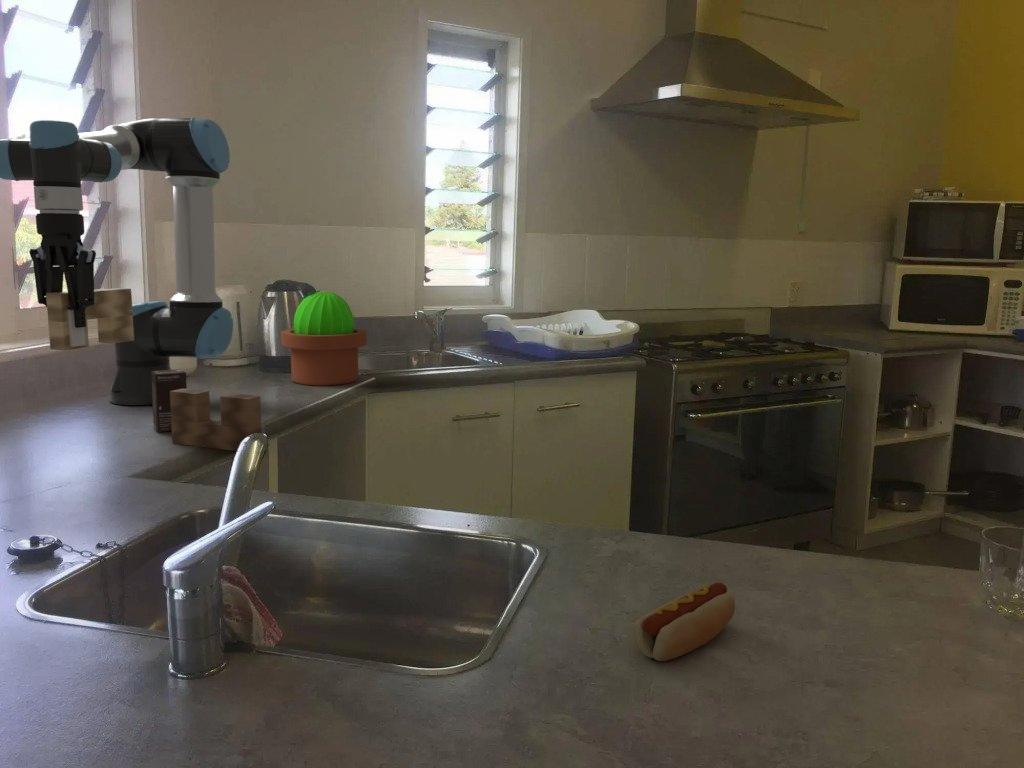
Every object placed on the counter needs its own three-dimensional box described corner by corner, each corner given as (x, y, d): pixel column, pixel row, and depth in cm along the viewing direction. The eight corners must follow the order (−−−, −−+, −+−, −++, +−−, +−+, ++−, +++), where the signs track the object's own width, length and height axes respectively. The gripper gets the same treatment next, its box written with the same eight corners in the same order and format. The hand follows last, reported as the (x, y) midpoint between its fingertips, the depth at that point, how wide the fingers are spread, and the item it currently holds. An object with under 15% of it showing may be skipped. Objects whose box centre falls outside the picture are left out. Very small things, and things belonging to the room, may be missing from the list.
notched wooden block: (172, 442, 168) (169, 391, 166) (185, 439, 171) (183, 388, 169) (249, 452, 161) (247, 399, 159) (261, 448, 164) (260, 396, 163)
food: (670, 676, 82) (672, 625, 81) (622, 656, 86) (624, 608, 85) (744, 629, 92) (747, 584, 91) (698, 613, 96) (700, 569, 95)
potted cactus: (382, 380, 241) (381, 289, 237) (316, 390, 225) (313, 292, 220) (333, 371, 255) (331, 285, 251) (267, 380, 239) (264, 288, 235)
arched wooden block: (64, 350, 156) (60, 293, 154) (50, 349, 157) (46, 292, 155) (134, 340, 170) (131, 288, 169) (120, 339, 172) (117, 287, 170)
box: (158, 433, 175) (155, 373, 173) (153, 429, 179) (150, 370, 177) (189, 430, 179) (186, 371, 177) (184, 425, 182) (181, 368, 180)
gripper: (6, 211, 154) (17, 344, 158) (77, 212, 148) (86, 350, 152) (43, 212, 161) (52, 339, 165) (112, 213, 155) (120, 345, 159)
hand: (69, 344), depth 158 cm, fingers closed on arched wooden block, 3 cm apart
